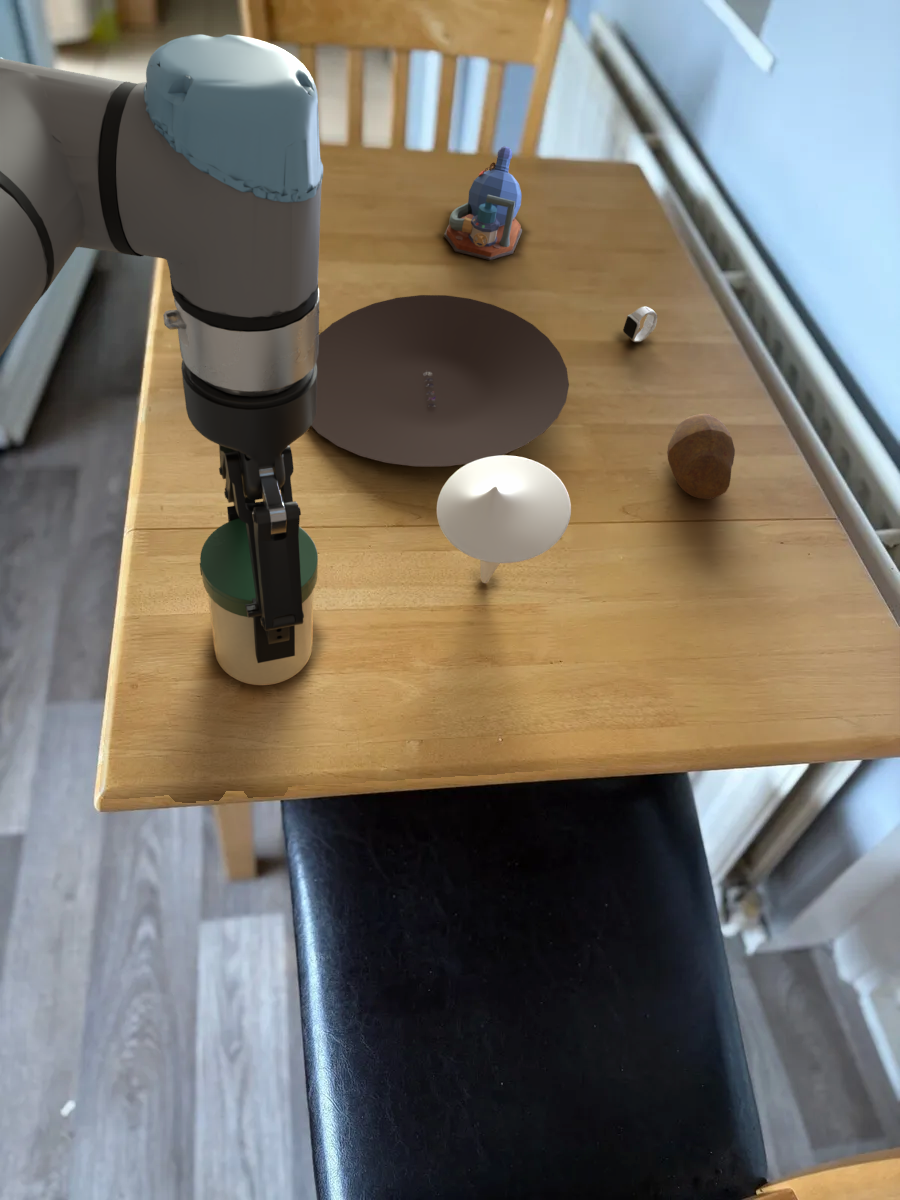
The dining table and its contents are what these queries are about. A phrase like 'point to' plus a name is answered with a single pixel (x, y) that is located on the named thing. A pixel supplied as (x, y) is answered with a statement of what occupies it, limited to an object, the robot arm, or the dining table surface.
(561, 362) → the plate
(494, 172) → the model
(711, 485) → the potato
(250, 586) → the jar lid
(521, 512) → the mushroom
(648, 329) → the smartwatch
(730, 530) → the dining table surface
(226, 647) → the jam jar
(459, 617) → the dining table surface
